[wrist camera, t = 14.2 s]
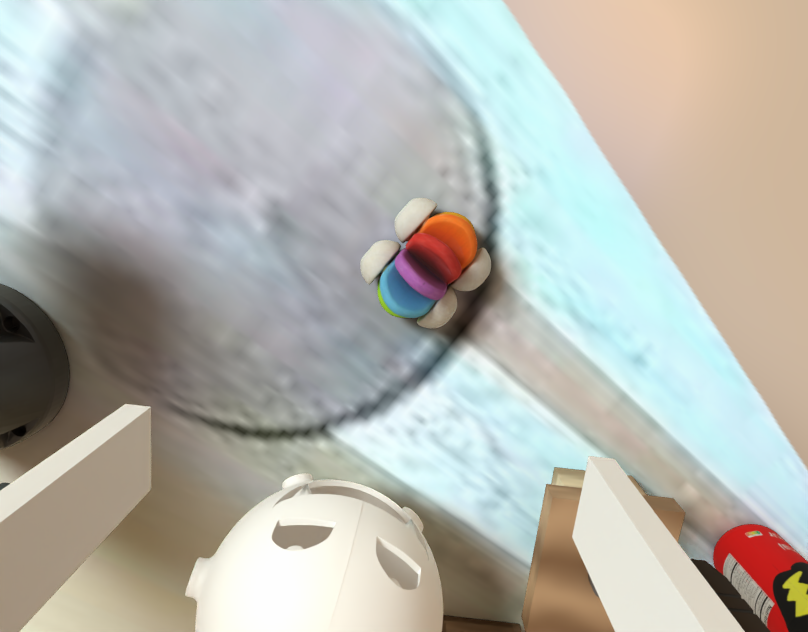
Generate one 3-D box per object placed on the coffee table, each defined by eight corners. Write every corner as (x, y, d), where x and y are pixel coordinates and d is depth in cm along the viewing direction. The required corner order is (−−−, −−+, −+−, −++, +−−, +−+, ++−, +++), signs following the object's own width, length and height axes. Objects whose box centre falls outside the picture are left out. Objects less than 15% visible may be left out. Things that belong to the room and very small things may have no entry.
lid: (640, 629, 45) (656, 661, 42) (521, 616, 45) (529, 647, 42) (673, 498, 42) (693, 522, 39) (546, 483, 42) (556, 506, 39)
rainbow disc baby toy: (502, 251, 42) (519, 261, 35) (425, 336, 44) (426, 362, 37) (425, 182, 41) (426, 178, 34) (349, 272, 43) (335, 286, 36)
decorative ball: (477, 478, 47) (516, 670, 28) (412, 626, 51) (408, 885, 31) (268, 406, 46) (160, 553, 27) (218, 562, 50) (91, 790, 30)
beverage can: (766, 580, 48) (878, 702, 37) (700, 573, 48) (790, 692, 37) (784, 521, 47) (907, 628, 35) (716, 514, 47) (815, 618, 35)
